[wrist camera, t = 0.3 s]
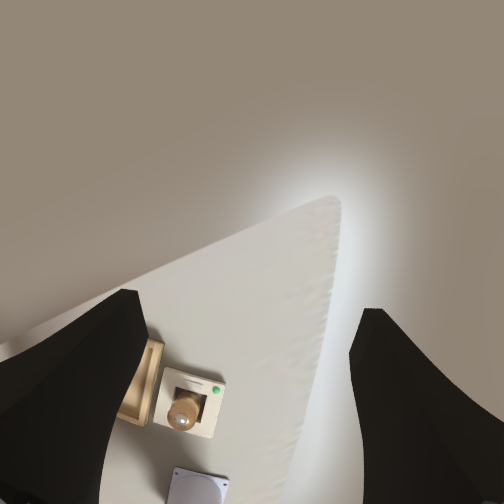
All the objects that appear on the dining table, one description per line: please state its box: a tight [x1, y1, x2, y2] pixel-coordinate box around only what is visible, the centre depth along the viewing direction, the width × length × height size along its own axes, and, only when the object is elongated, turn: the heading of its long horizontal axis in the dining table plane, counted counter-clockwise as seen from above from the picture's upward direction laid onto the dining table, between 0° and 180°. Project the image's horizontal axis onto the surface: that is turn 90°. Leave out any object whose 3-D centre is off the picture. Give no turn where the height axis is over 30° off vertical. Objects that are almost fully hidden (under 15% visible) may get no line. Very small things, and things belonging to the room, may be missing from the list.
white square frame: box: [153, 367, 226, 439], centre depth 32 cm, size 8×8×2 cm
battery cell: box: [167, 391, 201, 431], centre depth 30 cm, size 3×3×8 cm
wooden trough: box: [116, 338, 165, 427], centre depth 33 cm, size 12×6×2 cm, turn 166°
